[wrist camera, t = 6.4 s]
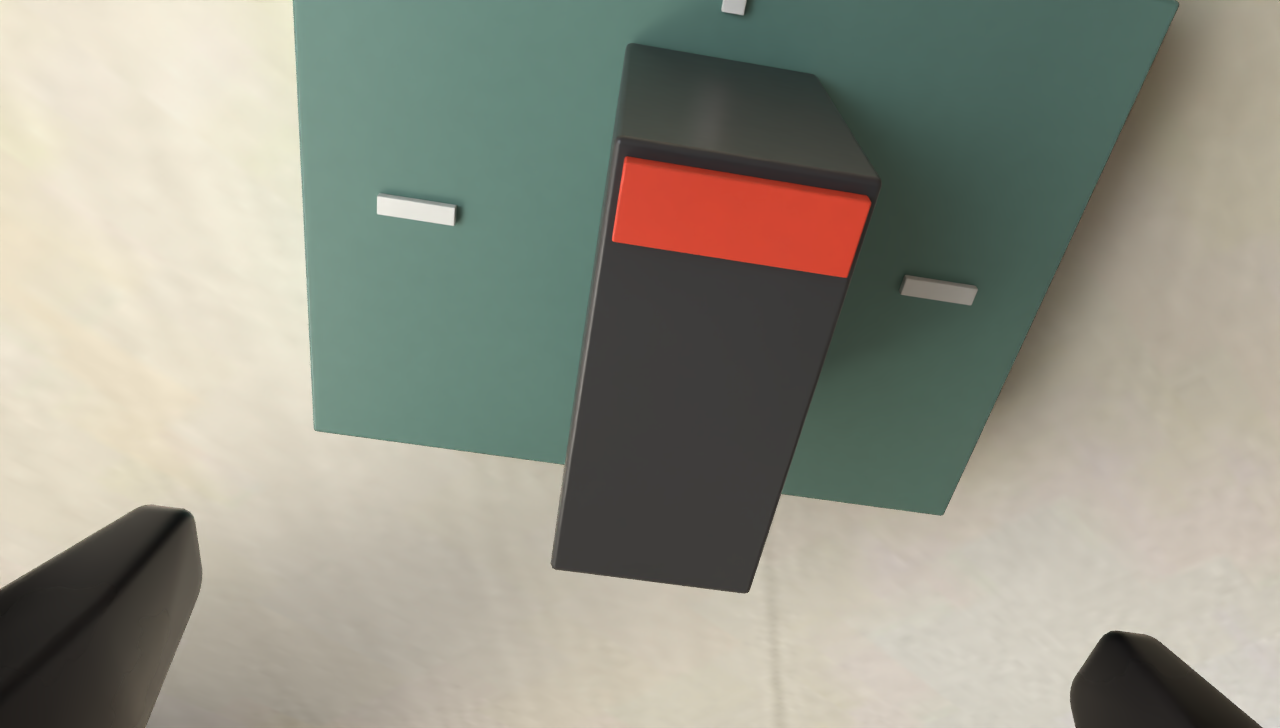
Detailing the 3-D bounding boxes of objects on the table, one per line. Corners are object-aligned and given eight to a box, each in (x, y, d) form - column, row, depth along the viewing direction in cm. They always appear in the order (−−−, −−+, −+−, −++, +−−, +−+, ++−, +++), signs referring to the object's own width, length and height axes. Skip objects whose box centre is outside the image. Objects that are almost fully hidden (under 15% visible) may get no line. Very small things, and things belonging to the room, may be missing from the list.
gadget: (727, 414, 18) (750, 608, 14) (575, 392, 18) (547, 582, 13) (817, 74, 14) (890, 187, 10) (627, 40, 14) (614, 142, 10)
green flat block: (348, 372, 21) (310, 440, 18) (336, -173, 15) (278, -172, 13) (914, 451, 22) (943, 525, 19) (1115, -30, 16) (1191, -3, 14)
